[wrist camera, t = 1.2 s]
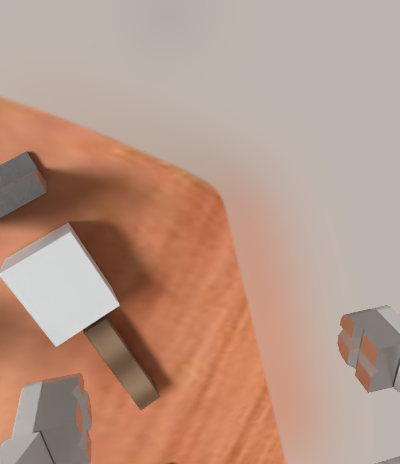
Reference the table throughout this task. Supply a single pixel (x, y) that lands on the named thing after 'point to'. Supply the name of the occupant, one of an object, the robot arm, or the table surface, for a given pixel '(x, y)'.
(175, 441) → the table surface
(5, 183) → the wall
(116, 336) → the walnut bar
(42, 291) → the tunnel block
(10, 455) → the robot arm
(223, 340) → the table surface
